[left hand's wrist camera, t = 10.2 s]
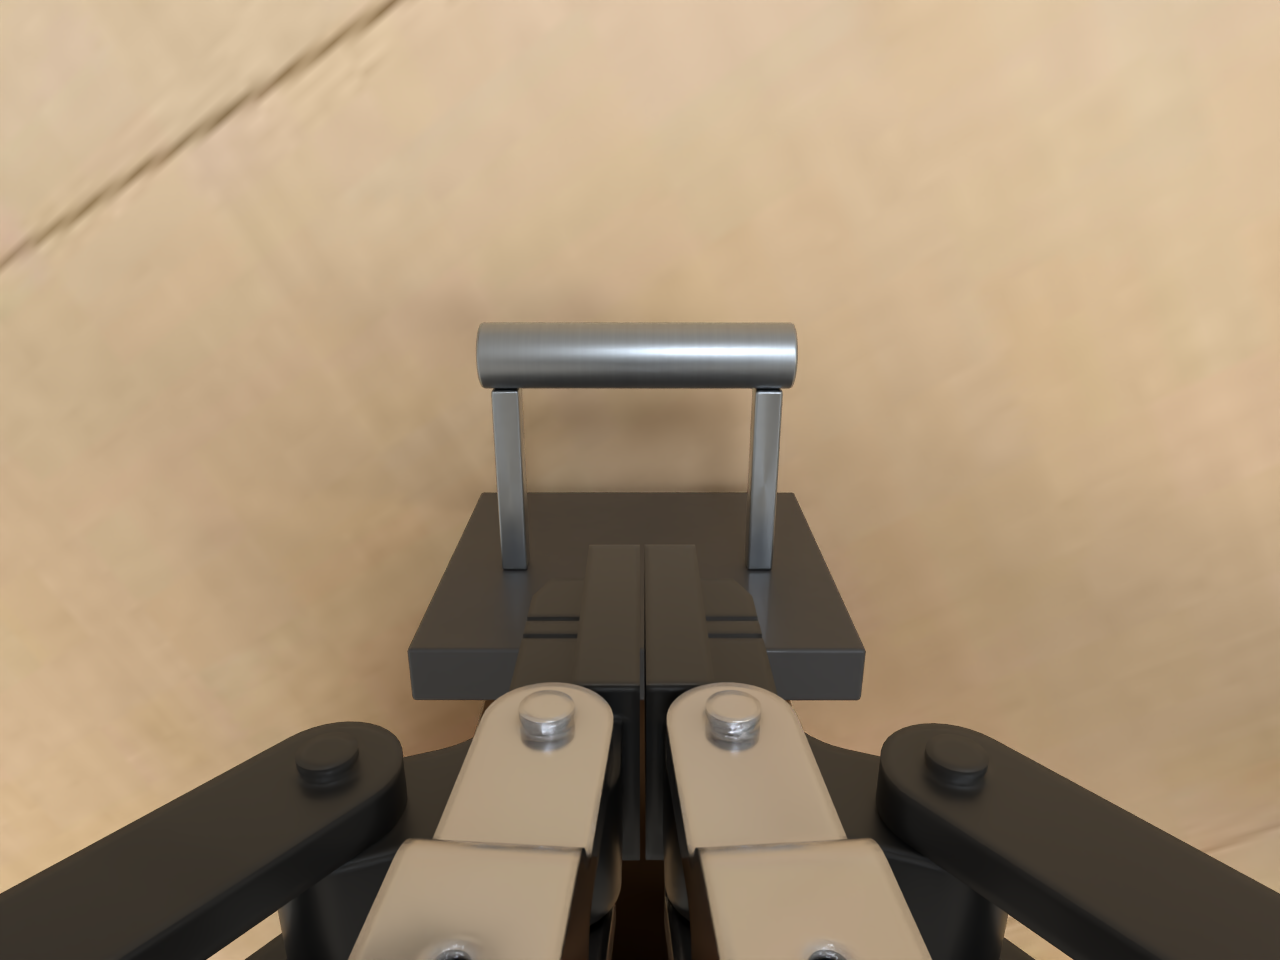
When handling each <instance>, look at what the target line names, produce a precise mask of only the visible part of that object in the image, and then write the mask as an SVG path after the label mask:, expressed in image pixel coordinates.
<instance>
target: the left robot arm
mask: <svg viewBox="0 0 1280 960" xmlns="http://www.w3.org/2000/svg"><path fill="white" fill-rule="evenodd" d="M644 710H645V832H646V860H664V880H665V894H664V926H665V934H666V942H667V950H668V958H669V960H1035V959H1034V958H1032V957H1031V956H1029V955H1028V954H1027V953H1025V952H1024V951H1022V950H1021V949H1020V948H1018V947H1017V946H1015V945H1014V944H1013V943H1011V942H1010V941H1008V940H1007V939H1006V938H1004V933H1005V928H1006V923H1007V918H1008V914H1009V915H1010V916H1012V917H1013V918H1014V919H1016V920H1017V921H1019V922H1020V923H1022V924H1023V925H1025V926H1026V927H1027V928H1029V929H1030V930H1032V931H1033V932H1035V933H1036V934H1038V935H1039V936H1040V937H1042V938H1043V939H1045V940H1046V941H1048V942H1049V943H1051V944H1052V945H1053V946H1055V947H1056V948H1058V949H1059V950H1061V951H1062V952H1063V953H1065V954H1066V955H1068V956H1069V957H1071V958H1072V959H1074V960H1280V894H1279V893H1277V892H1275V891H1274V890H1272V889H1270V888H1268V887H1266V886H1264V885H1263V884H1261V883H1259V882H1257V881H1255V880H1253V879H1251V878H1250V877H1248V876H1246V875H1244V874H1242V873H1240V872H1238V871H1237V870H1235V869H1233V868H1231V867H1229V866H1227V865H1226V864H1224V863H1222V862H1220V861H1218V860H1216V859H1214V858H1213V857H1211V856H1209V855H1207V854H1205V853H1203V852H1201V851H1200V850H1198V849H1196V848H1194V847H1192V846H1190V845H1189V844H1187V843H1185V842H1183V841H1181V840H1179V839H1177V838H1176V837H1174V836H1172V835H1170V834H1168V833H1166V832H1164V831H1163V830H1161V829H1159V828H1157V827H1155V826H1153V825H1152V824H1150V823H1148V822H1146V821H1144V820H1142V819H1140V818H1139V817H1137V816H1135V815H1133V814H1131V813H1129V812H1128V811H1126V810H1124V809H1122V808H1120V807H1118V806H1116V805H1115V804H1113V803H1111V802H1109V801H1107V800H1105V799H1103V798H1102V797H1100V796H1098V795H1096V794H1094V793H1092V792H1091V791H1089V790H1087V789H1085V788H1083V787H1081V786H1079V785H1078V784H1076V783H1074V782H1072V781H1070V780H1068V779H1066V778H1065V777H1063V776H1061V775H1059V774H1057V773H1055V772H1054V771H1052V770H1050V769H1048V768H1046V767H1044V766H1042V765H1041V764H1039V763H1037V762H1035V761H1033V760H1031V759H1029V758H1028V757H1026V756H1024V755H1022V754H1020V753H1018V752H1017V751H1015V750H1013V749H1011V748H1009V747H1007V746H1005V745H1004V744H1002V743H1000V742H998V741H996V740H994V739H992V738H990V737H988V736H986V735H984V734H981V733H979V732H976V731H973V730H970V729H967V728H963V727H959V726H954V725H948V724H936V723H931V724H918V725H912V726H909V727H905V728H902V729H900V730H898V731H896V732H894V733H893V734H892V735H891V736H889V737H888V738H887V740H886V741H885V742H884V744H883V747H882V749H881V756H875V755H870V754H866V753H861V752H857V751H852V750H847V749H843V748H840V747H836V746H833V745H830V744H827V743H824V742H822V741H820V740H818V739H816V738H813V737H811V736H810V735H808V734H806V733H805V732H804V731H803V728H802V726H801V723H800V721H799V718H798V716H797V714H796V712H795V711H794V709H793V708H792V707H791V706H790V705H789V704H788V703H787V702H786V701H785V700H784V699H782V698H781V697H779V696H778V695H777V691H776V687H775V683H774V679H773V675H772V671H771V667H770V663H769V659H768V655H767V651H766V648H765V644H764V640H763V638H762V632H761V628H760V624H759V621H758V616H757V612H756V608H755V604H754V601H753V597H752V595H751V594H750V593H748V592H747V591H746V590H745V589H744V588H743V587H742V586H741V585H740V584H739V583H737V582H736V581H735V580H734V579H733V578H700V575H699V568H698V561H697V554H696V547H695V545H644ZM622 860H640V545H589V550H588V558H587V566H586V573H585V578H552V579H550V580H549V581H548V582H547V583H546V584H545V585H544V586H543V587H542V588H541V589H540V590H538V591H537V592H536V593H535V594H534V595H533V596H532V599H531V603H530V608H529V612H528V616H527V621H526V624H525V628H524V632H523V638H522V640H521V644H520V648H519V652H518V657H517V661H516V665H515V669H514V673H513V677H512V681H511V685H510V689H509V692H508V693H506V694H504V695H502V696H501V697H499V698H498V699H496V700H495V701H494V702H493V703H492V704H491V705H490V706H489V707H488V708H487V709H486V711H485V712H484V714H483V716H482V718H481V721H480V723H479V726H478V728H477V731H476V733H475V735H474V737H473V738H471V739H469V740H467V741H465V742H463V743H460V744H457V745H454V746H452V747H448V748H444V749H440V750H436V751H431V752H427V753H422V754H417V755H413V756H408V757H403V752H402V747H401V744H400V742H399V740H398V739H397V738H396V736H395V735H394V734H392V733H391V732H390V731H388V730H387V729H384V728H382V727H380V726H377V725H374V724H370V723H364V722H337V723H331V724H325V725H321V726H317V727H314V728H311V729H308V730H305V731H302V732H300V733H298V734H296V735H294V736H291V737H289V738H288V739H286V740H284V741H282V742H280V743H278V744H276V745H275V746H273V747H271V748H269V749H267V750H265V751H263V752H262V753H260V754H258V755H256V756H254V757H252V758H251V759H249V760H247V761H245V762H243V763H241V764H239V765H238V766H236V767H234V768H232V769H230V770H228V771H227V772H225V773H223V774H221V775H219V776H217V777H215V778H214V779H212V780H210V781H208V782H206V783H204V784H202V785H201V786H199V787H197V788H195V789H193V790H191V791H190V792H188V793H186V794H184V795H182V796H180V797H178V798H177V799H175V800H173V801H171V802H169V803H167V804H165V805H164V806H162V807H160V808H158V809H156V810H154V811H153V812H151V813H149V814H147V815H145V816H143V817H141V818H140V819H138V820H136V821H134V822H132V823H130V824H128V825H127V826H125V827H123V828H121V829H119V830H117V831H116V832H114V833H112V834H110V835H108V836H106V837H104V838H103V839H101V840H99V841H97V842H95V843H93V844H91V845H90V846H88V847H86V848H84V849H82V850H80V851H79V852H77V853H75V854H73V855H71V856H69V857H67V858H66V859H64V860H62V861H60V862H58V863H56V864H55V865H53V866H51V867H49V868H47V869H45V870H43V871H42V872H40V873H38V874H36V875H34V876H32V877H30V878H29V879H27V880H25V881H23V882H21V883H19V884H18V885H16V886H14V887H12V888H10V889H8V890H6V891H5V892H3V893H1V894H0V960H206V959H208V958H209V957H211V956H212V955H214V954H215V953H217V952H218V951H219V950H221V949H222V948H224V947H225V946H227V945H228V944H230V943H231V942H232V941H234V940H235V939H237V938H238V937H240V936H241V935H242V934H244V933H245V932H247V931H248V930H250V929H251V928H253V927H254V926H255V925H257V924H258V923H260V922H261V921H263V920H264V919H266V918H267V917H268V916H270V915H271V914H273V913H274V912H276V911H277V910H278V914H279V919H280V925H281V930H282V933H281V934H280V935H279V936H277V937H276V938H274V939H273V940H272V941H270V942H269V943H267V944H266V945H265V946H263V947H262V948H260V949H259V950H258V951H256V952H255V953H253V954H252V955H251V956H249V957H248V958H247V959H245V960H611V958H612V950H613V942H614V934H615V926H616V901H617V899H618V896H619V893H620V890H621V882H622Z"/></svg>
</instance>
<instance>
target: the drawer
mask: <svg viewBox="0 0 1280 960" xmlns="http://www.w3.org/2000/svg"><path fill="white" fill-rule="evenodd" d="M797 361H798V342H797V333H796V329H795V326H794V324H792V323H482V324H480V326H479V329H478V333H477V341H476V363H477V372H478V378H479V381H480V384H481V386H482V387H483V388H493V390H492V392H491V397H492V413H493V430H494V446H495V462H496V479H497V493H482V494H481V496H480V498H479V501H478V503H477V505H476V507H475V509H474V511H473V513H472V515H471V517H470V520H469V522H468V524H467V526H466V528H465V530H464V532H463V534H462V537H461V539H460V541H459V543H458V545H457V547H456V549H455V551H454V553H453V556H452V558H451V560H450V562H449V564H448V566H447V568H446V570H445V572H444V575H443V577H442V579H441V581H440V583H439V585H438V587H437V589H436V592H435V594H434V596H433V598H432V600H431V602H430V604H429V606H428V608H427V611H426V613H425V615H424V617H423V619H422V621H421V623H420V625H419V628H418V630H417V632H416V634H415V636H414V638H413V640H412V642H411V644H410V647H409V649H408V660H409V669H410V678H411V687H412V696H413V698H414V699H415V700H484V703H483V706H482V710H481V713H480V717H479V720H478V724H477V727H476V731H477V728H478V726H479V723H480V721H481V718H482V716H483V714H484V712H485V711H486V709H487V708H488V707H489V706H490V705H491V704H492V703H493V702H494V701H495V700H496V699H498V698H499V697H501V696H502V695H504V694H506V693H508V692H509V689H510V685H511V681H512V677H513V673H514V669H515V665H516V661H517V657H518V652H519V648H520V644H521V640H522V638H523V632H524V628H525V624H526V621H527V616H528V612H529V608H530V603H531V599H532V596H533V595H534V594H535V593H536V592H537V591H538V590H540V589H541V588H542V587H543V586H544V585H545V584H546V583H547V582H548V581H549V580H550V579H552V578H585V573H586V566H587V558H588V550H589V545H640V860H622V882H621V890H620V893H619V896H618V899H617V901H616V926H615V934H614V942H613V950H612V958H611V960H669V958H668V950H667V942H666V934H665V926H664V894H665V880H664V860H646V832H645V710H644V545H695V547H696V554H697V561H698V568H699V575H700V578H733V579H734V580H735V581H736V582H737V583H739V584H740V585H741V586H742V587H743V588H744V589H745V590H746V591H747V592H748V593H750V594H751V595H752V597H753V601H754V604H755V608H756V612H757V616H758V621H759V624H760V628H761V632H762V638H763V640H764V644H765V648H766V651H767V655H768V659H769V663H770V667H771V671H772V675H773V679H774V683H775V687H776V691H777V695H778V696H779V697H781V698H782V699H784V700H785V701H786V702H787V703H788V704H789V705H790V706H791V707H792V705H791V702H790V700H859V699H860V697H861V691H862V681H863V672H864V662H865V653H866V651H865V648H864V646H863V644H862V642H861V640H860V638H859V635H858V633H857V631H856V629H855V627H854V624H853V622H852V620H851V618H850V616H849V613H848V611H847V609H846V607H845V605H844V602H843V600H842V598H841V596H840V594H839V591H838V589H837V587H836V585H835V583H834V580H833V578H832V576H831V574H830V572H829V569H828V567H827V565H826V563H825V561H824V559H823V556H822V554H821V552H820V550H819V548H818V545H817V543H816V541H815V539H814V537H813V534H812V532H811V530H810V528H809V526H808V523H807V521H806V519H805V517H804V515H803V512H802V510H801V508H800V506H799V504H798V501H797V499H796V497H795V495H794V493H777V483H778V466H779V449H780V432H781V415H782V398H783V392H782V390H781V389H780V388H791V387H792V386H793V384H794V381H795V378H796V372H797ZM522 388H752V408H751V430H750V451H749V473H748V493H527V483H526V463H525V442H524V421H523V401H522ZM476 731H475V733H476ZM474 735H475V734H474Z"/></svg>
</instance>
